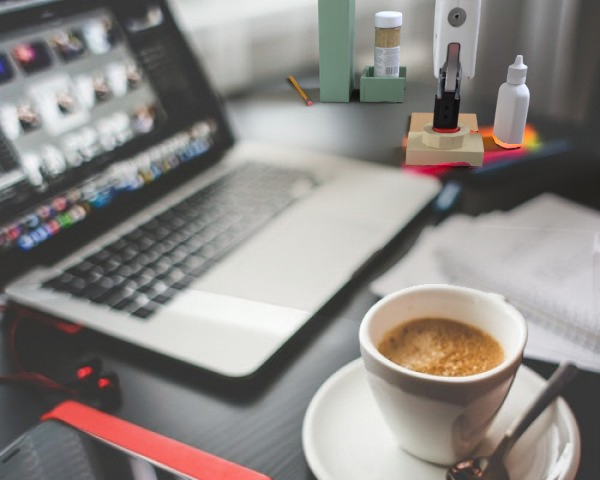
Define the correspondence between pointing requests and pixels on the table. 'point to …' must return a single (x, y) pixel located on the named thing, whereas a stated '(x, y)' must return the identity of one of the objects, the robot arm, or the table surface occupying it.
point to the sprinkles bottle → (387, 43)
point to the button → (446, 130)
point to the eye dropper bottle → (512, 105)
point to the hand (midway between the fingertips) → (444, 126)
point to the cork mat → (424, 118)
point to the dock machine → (348, 59)
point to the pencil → (300, 91)
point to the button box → (444, 147)
